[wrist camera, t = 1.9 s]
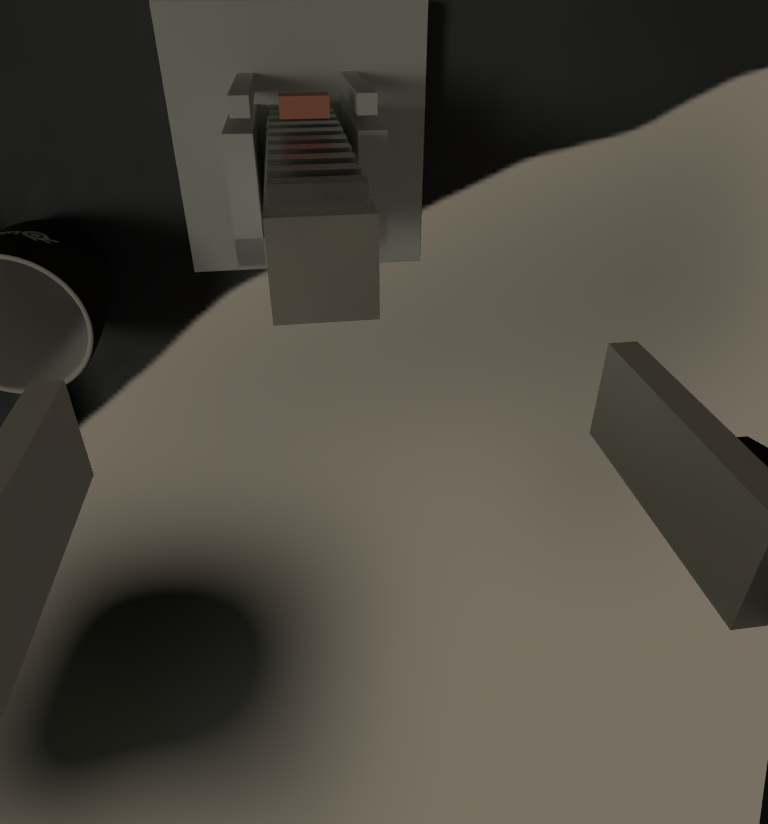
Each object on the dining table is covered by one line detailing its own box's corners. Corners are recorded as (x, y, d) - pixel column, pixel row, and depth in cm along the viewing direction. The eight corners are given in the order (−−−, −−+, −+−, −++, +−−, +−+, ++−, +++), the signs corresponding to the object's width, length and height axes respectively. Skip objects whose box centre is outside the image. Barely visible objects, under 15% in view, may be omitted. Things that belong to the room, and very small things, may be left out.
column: (265, 100, 40) (258, 194, 22) (331, 99, 40) (380, 189, 22) (272, 181, 42) (272, 326, 24) (335, 179, 43) (380, 320, 25)
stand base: (154, -1, 38) (109, 4, 28) (421, -1, 40) (474, 3, 30) (197, 262, 47) (175, 340, 36) (415, 251, 49) (453, 322, 38)
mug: (99, 191, 43) (58, 240, 35) (143, 313, 48) (116, 381, 40) (-83, 220, 43) (-171, 277, 34) (-20, 340, 48) (-82, 415, 39)
